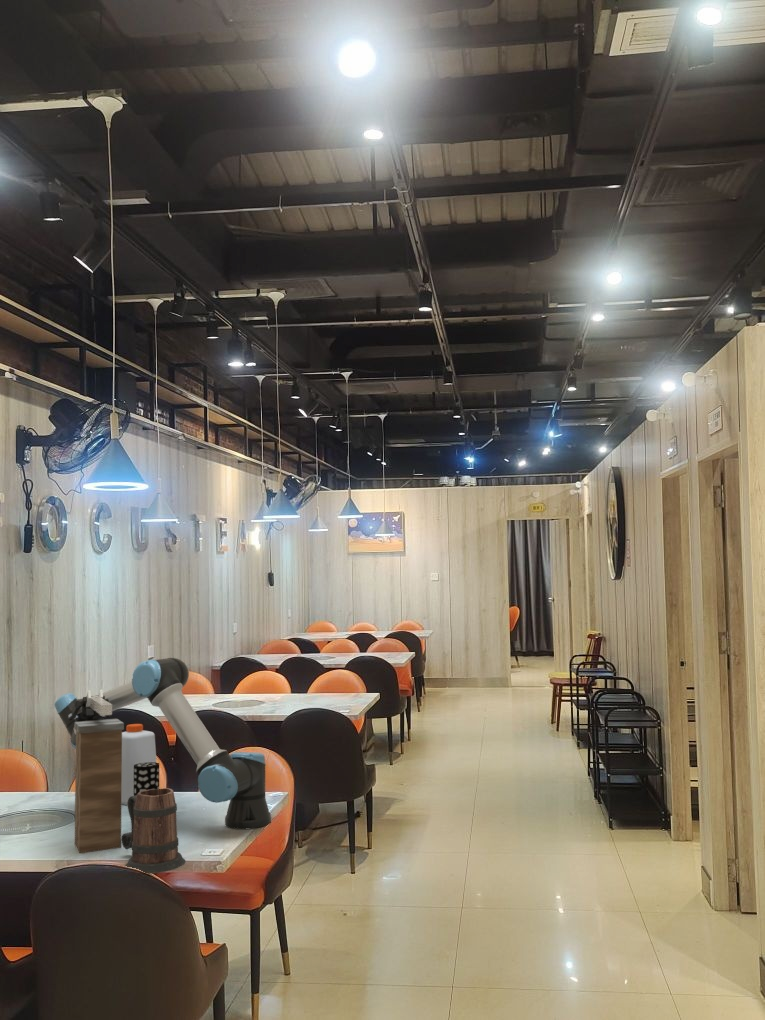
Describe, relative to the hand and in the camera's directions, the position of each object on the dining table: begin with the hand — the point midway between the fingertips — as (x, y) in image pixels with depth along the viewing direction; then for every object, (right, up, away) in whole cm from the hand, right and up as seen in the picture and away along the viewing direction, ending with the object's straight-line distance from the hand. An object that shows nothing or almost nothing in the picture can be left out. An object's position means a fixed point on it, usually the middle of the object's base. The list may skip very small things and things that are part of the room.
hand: (95, 693), depth 273 cm
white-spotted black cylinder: (+14, -46, +10) cm, 49 cm away
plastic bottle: (-2, -51, +48) cm, 70 cm away
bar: (+4, -3, -7) cm, 9 cm away
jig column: (+5, -44, -12) cm, 46 cm away
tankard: (+25, -42, -30) cm, 57 cm away
